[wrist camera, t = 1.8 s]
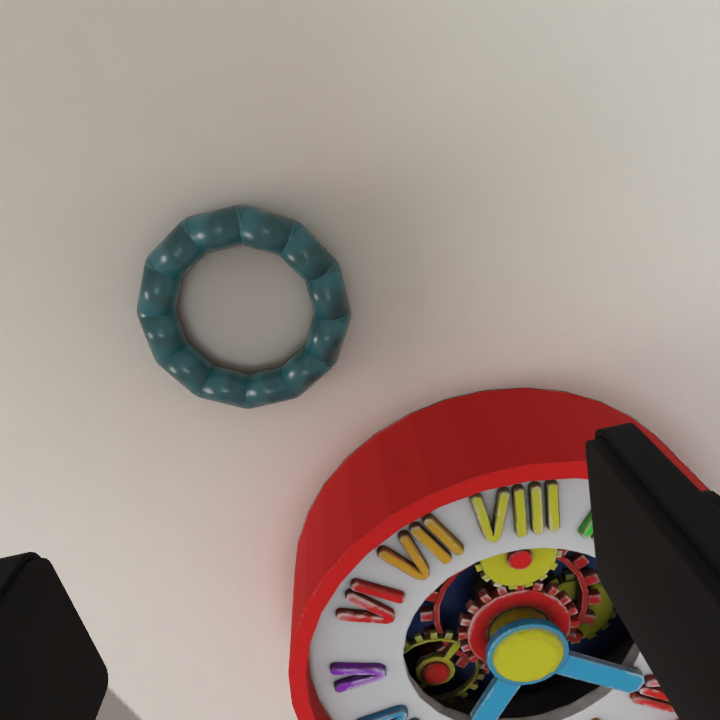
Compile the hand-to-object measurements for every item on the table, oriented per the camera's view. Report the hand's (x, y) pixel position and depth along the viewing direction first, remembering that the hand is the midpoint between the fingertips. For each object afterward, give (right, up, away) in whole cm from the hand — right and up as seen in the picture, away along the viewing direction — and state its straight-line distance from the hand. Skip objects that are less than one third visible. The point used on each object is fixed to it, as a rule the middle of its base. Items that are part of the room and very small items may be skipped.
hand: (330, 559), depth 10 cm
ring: (-4, +5, +13) cm, 15 cm away
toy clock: (+7, -7, +20) cm, 22 cm away
